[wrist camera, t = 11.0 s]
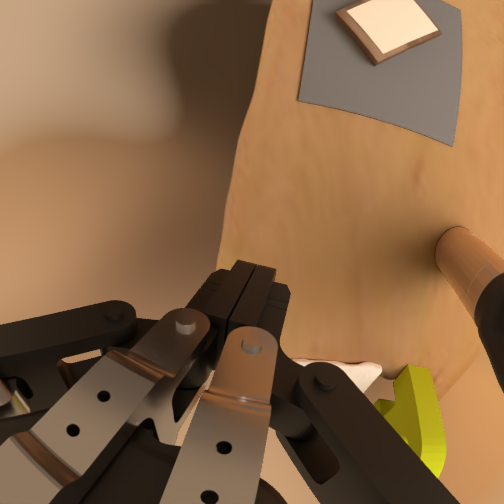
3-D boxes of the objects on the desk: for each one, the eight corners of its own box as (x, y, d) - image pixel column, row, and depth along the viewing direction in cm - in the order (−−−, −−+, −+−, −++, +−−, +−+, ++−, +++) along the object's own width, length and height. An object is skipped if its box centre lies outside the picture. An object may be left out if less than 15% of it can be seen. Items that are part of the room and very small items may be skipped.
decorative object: (407, 364, 51) (426, 483, 25) (429, 368, 51) (451, 480, 24) (366, 412, 60) (363, 512, 34) (386, 415, 59) (387, 511, 33)
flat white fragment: (291, 350, 59) (286, 414, 68) (288, 361, 56) (284, 423, 65) (383, 358, 53) (360, 421, 62) (384, 368, 50) (359, 430, 59)
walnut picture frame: (334, 19, 30) (398, -7, 24) (374, 66, 32) (436, 38, 26) (335, 11, 27) (402, -15, 21) (378, 61, 29) (442, 32, 23)
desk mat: (459, 10, 22) (460, 9, 21) (451, 146, 34) (452, 146, 33) (317, -33, 26) (317, -35, 25) (298, 101, 38) (298, 100, 37)
